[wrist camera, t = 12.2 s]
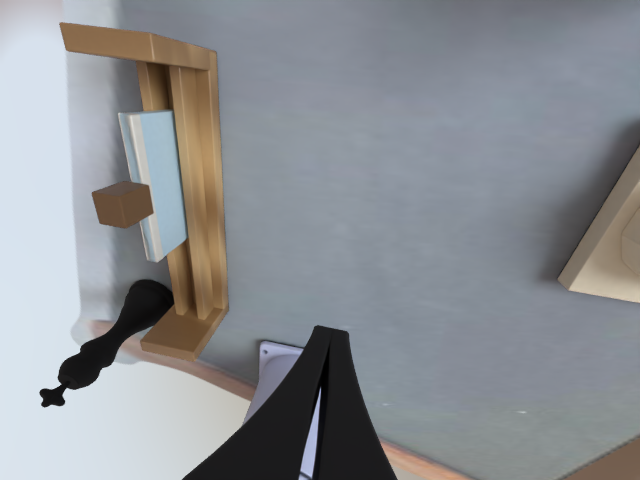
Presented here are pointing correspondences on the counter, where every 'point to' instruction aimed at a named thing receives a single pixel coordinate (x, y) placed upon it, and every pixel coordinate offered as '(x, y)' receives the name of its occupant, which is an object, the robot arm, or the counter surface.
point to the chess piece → (111, 339)
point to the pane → (148, 184)
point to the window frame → (196, 169)
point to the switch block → (611, 244)
